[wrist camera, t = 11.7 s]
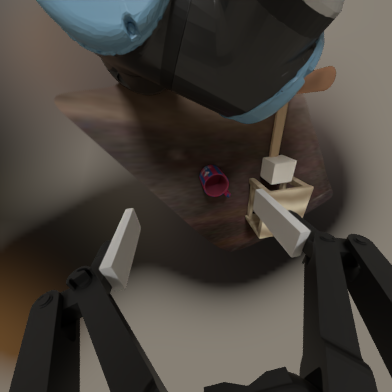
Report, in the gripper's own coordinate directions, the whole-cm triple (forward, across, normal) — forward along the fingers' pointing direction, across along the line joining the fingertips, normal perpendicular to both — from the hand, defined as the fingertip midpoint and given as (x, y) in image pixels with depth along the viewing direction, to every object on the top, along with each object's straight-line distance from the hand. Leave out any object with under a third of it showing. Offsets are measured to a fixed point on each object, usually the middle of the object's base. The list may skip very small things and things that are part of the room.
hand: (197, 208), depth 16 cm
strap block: (+27, +26, +1) cm, 37 cm away
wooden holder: (+27, +26, -19) cm, 42 cm away
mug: (+27, +8, -10) cm, 30 cm away
